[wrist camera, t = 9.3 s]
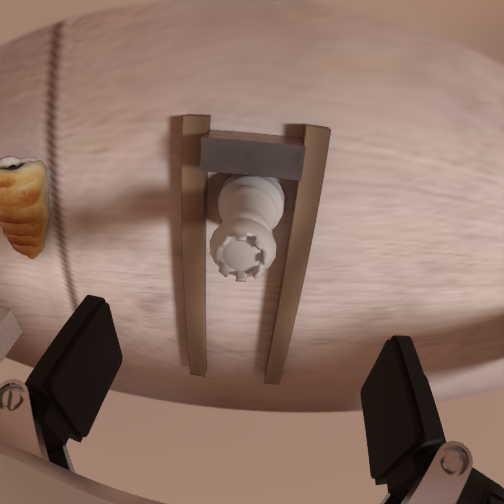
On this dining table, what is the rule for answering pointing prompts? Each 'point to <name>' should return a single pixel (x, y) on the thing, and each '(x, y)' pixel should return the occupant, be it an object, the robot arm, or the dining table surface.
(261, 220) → the rook chess piece
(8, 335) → the white gable top carton
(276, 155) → the end stop
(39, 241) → the pastry
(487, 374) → the dining table surface
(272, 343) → the guide track
